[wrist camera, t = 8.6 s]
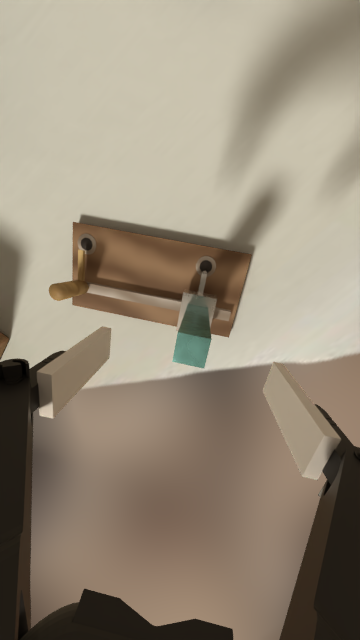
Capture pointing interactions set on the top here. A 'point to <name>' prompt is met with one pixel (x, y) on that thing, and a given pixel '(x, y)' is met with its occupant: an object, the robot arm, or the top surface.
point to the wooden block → (3, 343)
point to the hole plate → (150, 276)
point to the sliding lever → (194, 326)
